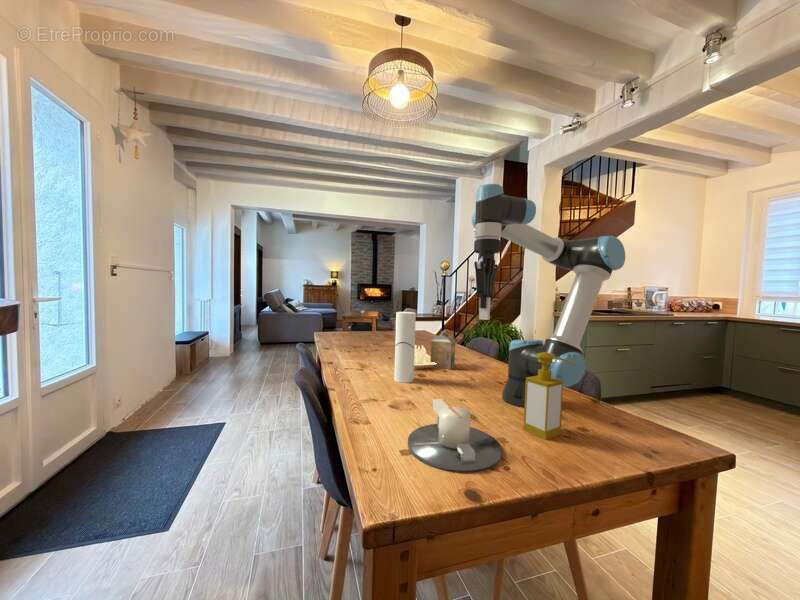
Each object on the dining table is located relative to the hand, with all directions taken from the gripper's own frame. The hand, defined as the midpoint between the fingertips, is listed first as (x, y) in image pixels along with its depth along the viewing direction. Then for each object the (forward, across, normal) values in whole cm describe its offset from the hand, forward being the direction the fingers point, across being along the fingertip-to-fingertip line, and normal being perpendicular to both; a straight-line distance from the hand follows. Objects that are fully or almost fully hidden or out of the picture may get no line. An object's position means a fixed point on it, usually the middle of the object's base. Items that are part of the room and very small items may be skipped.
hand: (484, 319), depth 97 cm
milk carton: (+33, -59, -44) cm, 81 cm away
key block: (+31, +15, -2) cm, 34 cm away
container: (+33, -26, -45) cm, 61 cm away
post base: (+32, +16, -1) cm, 36 cm away
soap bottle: (+33, -7, +18) cm, 38 cm away
